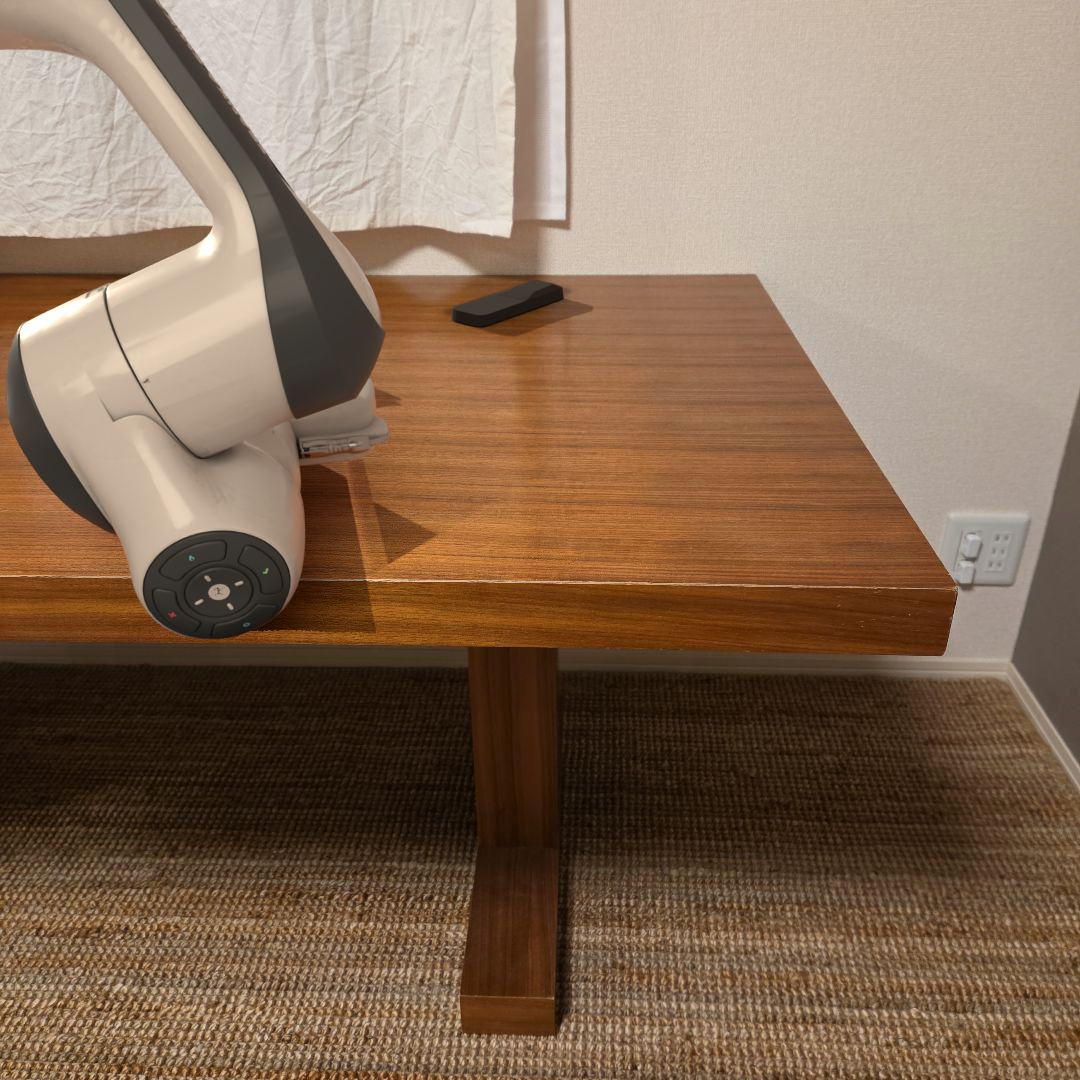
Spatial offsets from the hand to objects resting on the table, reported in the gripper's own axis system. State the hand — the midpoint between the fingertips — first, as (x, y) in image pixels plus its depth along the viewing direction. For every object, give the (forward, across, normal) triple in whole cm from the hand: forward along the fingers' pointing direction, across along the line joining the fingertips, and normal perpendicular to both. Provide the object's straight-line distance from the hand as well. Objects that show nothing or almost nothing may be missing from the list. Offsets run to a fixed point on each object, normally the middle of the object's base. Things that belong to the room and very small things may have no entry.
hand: (230, 386), depth 74 cm
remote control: (+36, -29, +7) cm, 47 cm away
